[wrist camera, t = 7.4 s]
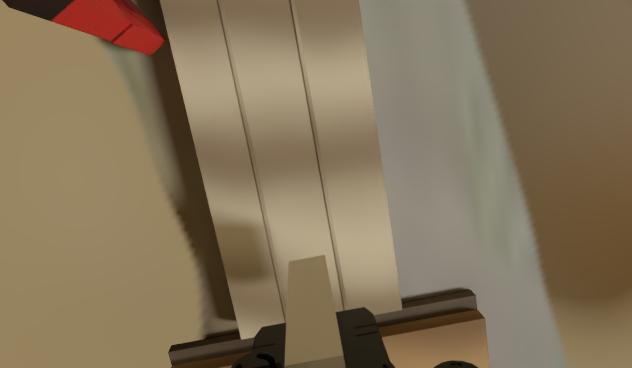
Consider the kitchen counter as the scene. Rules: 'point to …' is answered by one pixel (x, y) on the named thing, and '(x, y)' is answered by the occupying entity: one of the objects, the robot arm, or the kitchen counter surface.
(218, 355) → the floorboard
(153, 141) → the kitchen counter surface
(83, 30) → the mug
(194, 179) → the kitchen counter surface
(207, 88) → the plank
